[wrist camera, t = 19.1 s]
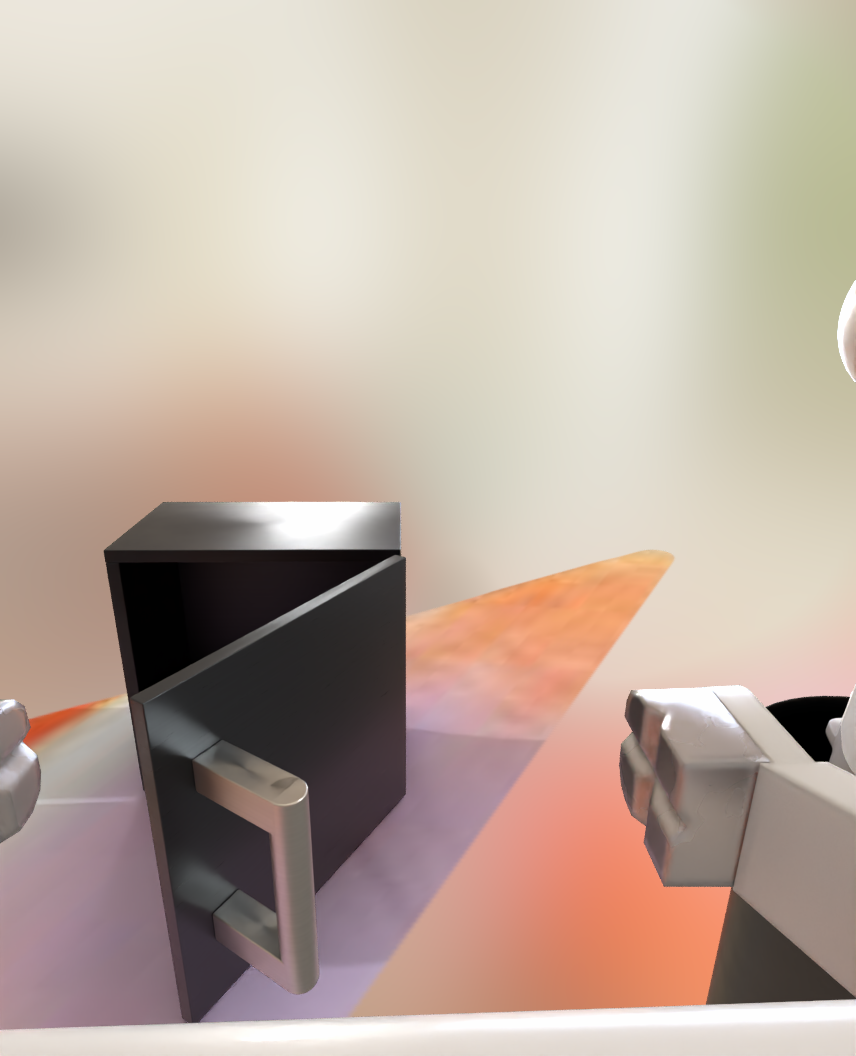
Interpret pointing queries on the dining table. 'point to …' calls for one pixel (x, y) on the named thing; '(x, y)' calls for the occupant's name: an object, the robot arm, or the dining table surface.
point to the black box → (231, 573)
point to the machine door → (273, 780)
